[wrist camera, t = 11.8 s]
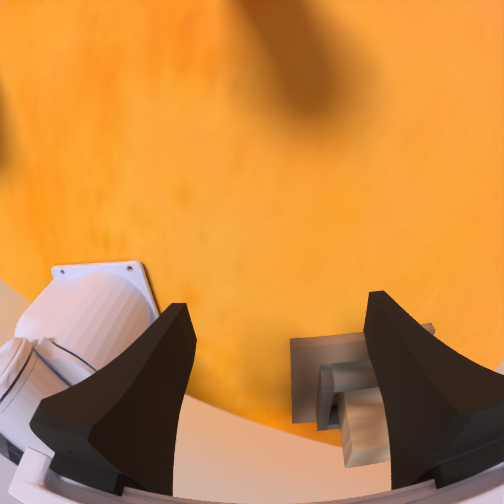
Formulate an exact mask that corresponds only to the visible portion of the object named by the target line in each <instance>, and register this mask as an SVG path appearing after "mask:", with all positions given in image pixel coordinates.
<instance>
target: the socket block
mask: <svg viewBox="0 0 504 504" xmlns="http://www.w3.org/2000/svg"><path fill="white" fill-rule="evenodd" d="M421 326H422V327H424V328H425V329H426V330H427V331H428V332H430V333H431V334H432V335H433V336H434V333H435V329H434V327H433V325H432V323H429V324H423V325H421ZM290 349H291V381H292V424H293V423H308V422H317V431H319V430H329V429H338V428H340V423H339V415H338V408H337V401H336V397H337V392H344V391H352V390H360V389H367V388H374V387H379V386H378V383H377V380H376V376H375V373H374V370H373V367H372V364H371V361H370V358H369V355H368V351H367V346H366V341H365V336H364V332H363V333H354V334H344V335H334V336H322V337H310V338H295V339H290Z"/></svg>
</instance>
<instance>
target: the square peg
mask: <svg viewBox="0 0 504 504" xmlns="http://www.w3.org/2000/svg"><path fill="white" fill-rule="evenodd" d="M336 401H337V408H338V415H339V423H340V430H341V438H342V446H343V455H344V463H345V468H349V467H357V466H363V465H369V464H375V463H380V462H385V461H388V460H389V459H390V445H389V436H388V428H387V421H386V415H385V409H384V404H383V400H382V396H381V392H380V389H379V387H374V388H367V389H360V390H352V391H344V392H337V397H336Z"/></svg>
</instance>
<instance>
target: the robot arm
mask: <svg viewBox="0 0 504 504" xmlns="http://www.w3.org/2000/svg"><path fill="white" fill-rule="evenodd" d="M129 266H131V267H132V268H133V269H130V268H129ZM51 273H52V275H53V278H54V279H53V280H52V281H51V282H50V283H49V285H48V286H47V287H46V288H45V289H44V290H43V291H42V292H41V293H40V295H39V296H38V297H37V298H36V299H35V300H34V302H33V303H32V304H31V305H30V306H29V307H28V309H27V310H26V311H25V312H24V313H23V315H22V316H21V318H20V319H19V321H18V323H17V326H16V329H15V335H14V338H12V339H10V340H9V341H8V342H7V343H5V344H4V345H3V346H2V347H1V348H0V504H234V503H220V502H209V501H200V500H192V499H184V498H178V497H173V465H174V452H175V442H176V434H177V427H178V420H179V414H180V409H181V405H182V401H183V398H184V394H185V391H186V387H187V384H188V380H189V377H190V373H191V370H192V366H193V362H194V357H195V350H196V342H197V338H196V335H195V332H194V329H193V325H192V322H191V318H190V315H189V312H188V308H187V305H186V303H172V304H171V305H170V306H169V307H168V308H167V309H166V310H165V311H164V312H163V313H162V314H161V315H160V316H159V313H158V310H157V307H156V304H155V301H154V299H153V296H152V293H151V290H150V287H149V284H148V281H147V277H146V274H145V271H144V268H143V265H142V264H141V263H140V262H139V261H122V262H107V263H91V264H76V265H60V266H53V267H52V269H51ZM363 331H364V336H365V341H366V346H367V351H368V355H369V358H370V361H371V364H372V367H373V370H374V373H375V376H376V380H377V383H378V386H379V389H380V392H381V396H382V400H383V404H384V409H385V415H386V421H387V428H388V436H389V445H390V458H391V482H392V483H391V484H392V485H391V486H392V487H391V491H387V492H382V493H377V494H372V495H366V496H362V497H355V498H348V499H342V500H333V501H324V502H313V503H299V504H504V375H502V374H499V373H496V372H494V371H492V370H490V369H487V368H485V367H483V366H481V365H479V364H477V363H475V362H473V361H471V360H469V359H468V358H466V357H464V356H462V355H461V354H459V353H457V352H456V351H454V350H453V349H451V348H450V347H448V346H447V345H446V344H444V343H443V342H441V341H440V340H439V339H437V338H436V337H435V336H433V335H432V334H431V333H430V332H428V331H427V330H426V329H425V328H424V327H422V326H421V325H420V324H419V323H418V322H417V321H416V320H414V319H413V318H412V317H411V316H410V315H409V314H408V313H407V312H406V311H405V310H404V309H403V308H402V307H400V306H399V305H398V304H397V303H396V302H395V301H394V300H393V299H392V298H391V297H390V296H389V295H388V294H387V293H386V292H385V291H374V292H369V297H368V304H367V311H366V318H365V324H364V330H363Z"/></svg>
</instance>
